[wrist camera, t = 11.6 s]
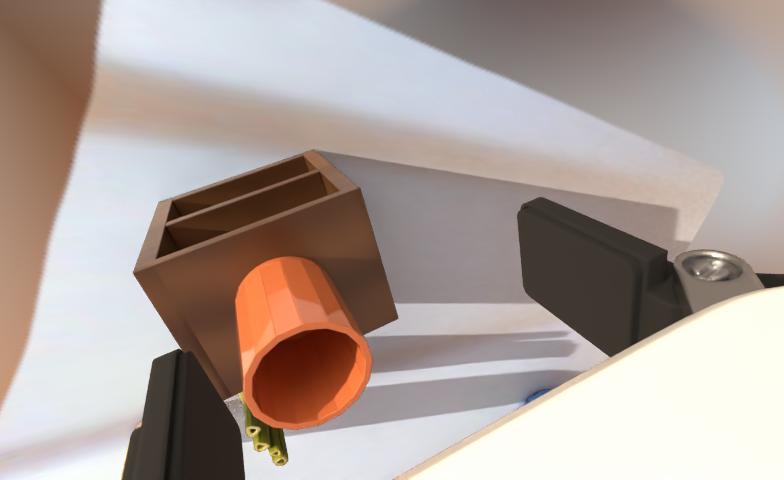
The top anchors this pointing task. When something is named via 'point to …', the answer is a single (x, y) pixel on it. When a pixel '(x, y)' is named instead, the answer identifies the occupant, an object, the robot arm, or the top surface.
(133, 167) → the top surface
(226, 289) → the brown wooden organizer box
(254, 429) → the fennel bulb
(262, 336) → the tumbler
